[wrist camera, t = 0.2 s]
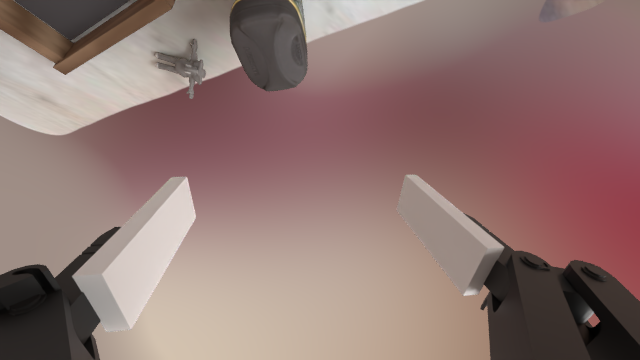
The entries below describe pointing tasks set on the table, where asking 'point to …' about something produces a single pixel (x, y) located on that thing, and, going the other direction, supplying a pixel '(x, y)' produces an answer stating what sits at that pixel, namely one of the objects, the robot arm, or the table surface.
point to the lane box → (72, 55)
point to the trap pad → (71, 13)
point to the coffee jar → (270, 41)
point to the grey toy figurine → (185, 67)
